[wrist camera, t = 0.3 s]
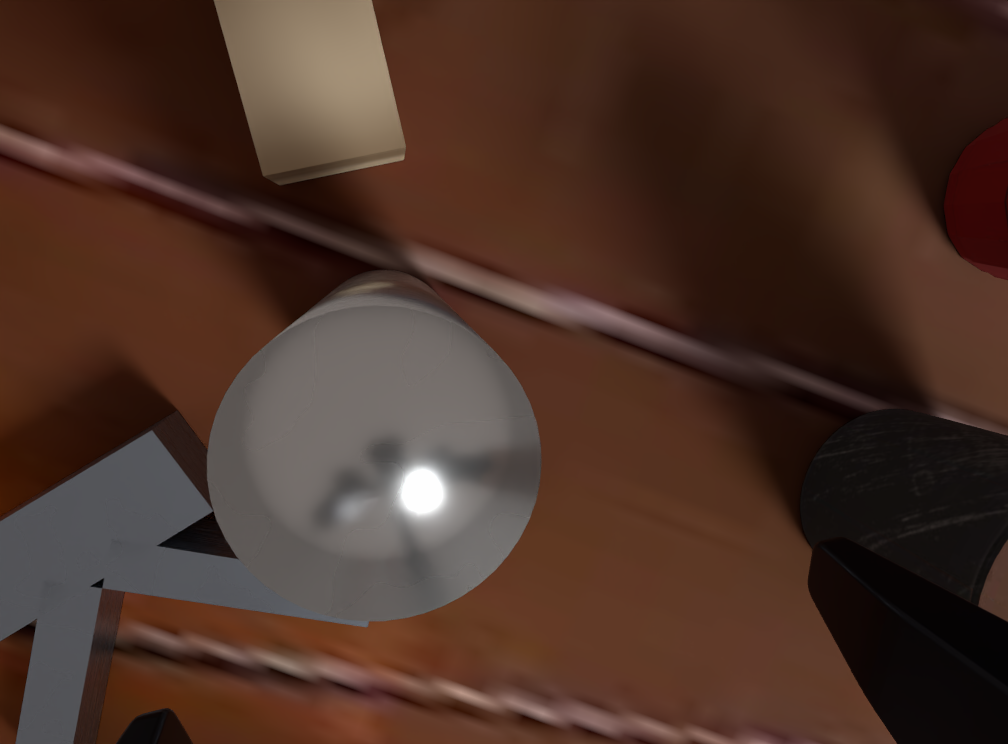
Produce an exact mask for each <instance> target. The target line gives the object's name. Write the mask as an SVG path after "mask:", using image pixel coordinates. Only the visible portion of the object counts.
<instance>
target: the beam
mask: <svg viewBox="0 0 1008 744" xmlns="http://www.w3.org/2000/svg"><path fill="white" fill-rule="evenodd" d="M214 3H215V6H216V10H217V13H218V17H219V21H220V24H221V28H222V31H223V35H224V39H225V42H226V46H227V49H228V53H229V56H230V60H231V64H232V67H233V71H234V74H235V78H236V81H237V85H238V89H239V92H240V96H241V99H242V103H243V106H244V110H245V114H246V117H247V121H248V124H249V128H250V132H251V135H252V139H253V142H254V146H255V149H256V153H257V157H258V160H259V164H260V167H261V171H262V174H263V176H264V177H265V178H267V179H269V180H271V181H273V182H274V183H276V184H278V185H284V184H289V183H294V182H299V181H304V180H309V179H313V178H318V177H323V176H328V175H333V174H338V173H343V172H347V171H352V170H357V169H362V168H367V167H372V166H377V165H381V164H386V163H391V162H396V161H401V160H404V155H405V150H406V145H405V141H404V136H403V132H402V128H401V124H400V119H399V115H398V111H397V107H396V102H395V98H394V94H393V90H392V85H391V81H390V77H389V72H388V68H387V64H386V60H385V55H384V51H383V47H382V43H381V38H380V34H379V30H378V26H377V21H376V17H375V13H374V8H373V4H372V0H214Z"/></svg>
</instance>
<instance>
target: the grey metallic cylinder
mask: <svg viewBox="0 0 1008 744" xmlns="http://www.w3.org/2000/svg"><path fill="white" fill-rule="evenodd" d="M540 473H541V446H540V438H539V433H538V428H537V423H536V420H535V417H534V414H533V410H532V407H531V404H530V402H529V400H528V398H527V396H526V394H525V392H524V390H523V388H522V386H521V384H520V383H519V381H518V380H517V378H516V377H515V375H514V374H513V372H512V371H511V369H510V368H509V367H508V366H507V365H506V364H505V362H504V361H503V360H502V359H501V358H500V357H499V356H498V355H497V353H496V352H495V351H494V350H493V349H492V348H491V347H490V346H489V345H488V344H487V343H486V342H485V341H484V340H483V339H482V338H481V337H480V336H479V335H478V334H477V333H476V332H475V331H474V330H473V329H472V328H471V327H470V326H469V325H468V324H467V323H466V322H465V321H464V320H463V319H462V318H461V317H460V316H459V315H458V314H457V313H456V312H455V311H454V310H453V309H452V308H451V307H450V306H449V305H448V304H447V303H446V302H445V301H444V300H443V299H442V298H441V297H440V296H439V295H438V294H437V293H436V292H435V291H434V290H433V289H431V288H430V287H429V286H428V285H427V284H426V283H424V282H422V281H421V280H419V279H418V278H416V277H414V276H412V275H409V274H406V273H403V272H399V271H394V270H373V271H368V272H364V273H361V274H358V275H356V276H354V277H352V278H350V279H348V280H346V281H345V282H343V283H342V284H340V285H339V286H338V287H337V288H336V289H334V290H333V291H332V292H331V293H329V294H328V295H327V296H326V297H324V298H323V299H322V300H321V301H319V302H318V303H317V304H316V305H315V306H313V307H312V308H311V309H310V310H308V311H307V312H306V313H305V314H303V315H302V316H301V317H300V318H299V319H297V320H296V321H295V322H294V323H292V324H291V325H290V326H289V327H287V328H286V329H285V330H284V331H283V332H281V333H280V334H279V335H278V336H276V337H275V338H274V339H273V340H271V341H270V342H269V343H268V344H267V345H266V346H264V347H263V348H262V349H261V350H260V351H259V352H258V353H257V354H256V355H254V356H253V357H252V358H251V359H250V361H249V362H248V363H247V364H246V365H245V366H244V368H243V369H242V370H241V371H240V372H239V373H238V375H237V376H236V378H235V379H234V381H233V383H232V384H231V386H230V387H229V389H228V390H227V392H226V393H225V396H224V398H223V400H222V402H221V404H220V407H219V409H218V411H217V413H216V416H215V420H214V423H213V427H212V430H211V433H210V439H209V446H208V453H207V481H208V488H209V495H210V500H211V503H212V507H213V510H214V514H215V517H216V520H217V522H218V524H219V526H220V529H221V531H222V533H223V535H224V537H225V539H226V541H227V542H228V544H229V545H230V547H231V548H232V550H233V552H234V553H235V555H236V556H237V557H238V559H239V560H240V561H241V562H242V563H243V564H244V566H245V567H246V568H247V569H248V570H249V571H250V572H251V573H252V574H253V575H254V576H255V577H256V578H257V579H258V580H259V581H261V582H262V583H263V584H264V585H265V586H266V587H268V588H269V589H271V590H272V591H274V592H275V593H277V594H278V595H280V596H281V597H283V598H284V599H286V600H288V601H290V602H292V603H294V604H296V605H298V606H300V607H302V608H305V609H308V610H310V611H313V612H316V613H319V614H322V615H326V616H330V617H335V618H339V619H345V620H355V621H388V620H395V619H402V618H407V617H411V616H415V615H419V614H423V613H426V612H429V611H431V610H434V609H436V608H439V607H442V606H444V605H446V604H448V603H450V602H452V601H454V600H456V599H457V598H459V597H461V596H463V595H464V594H466V593H467V592H469V591H470V590H472V589H473V588H475V587H476V586H477V585H479V584H480V583H481V582H482V581H484V580H485V579H486V578H487V577H488V576H489V575H490V574H491V573H492V572H494V571H495V570H496V569H497V567H498V566H499V565H500V564H501V563H502V562H503V561H504V559H505V558H506V557H507V556H508V555H509V553H510V552H511V550H512V549H513V547H514V546H515V545H516V543H517V542H518V540H519V539H520V537H521V535H522V533H523V531H524V529H525V527H526V525H527V523H528V521H529V518H530V516H531V513H532V510H533V507H534V505H535V502H536V497H537V493H538V488H539V483H540Z"/></svg>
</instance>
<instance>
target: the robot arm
mask: <svg viewBox="0 0 1008 744" xmlns="http://www.w3.org/2000/svg"><path fill="white" fill-rule="evenodd" d="M808 588H809V592H810V595H811V597H812V599H813V601H814V603H815V605H816V607H817V609H818V610H819V612H820V614H821V616H822V618H823V620H824V622H825V623H826V625H827V627H828V629H829V631H830V633H831V634H832V636H833V638H834V640H835V642H836V644H837V645H838V647H839V649H840V651H841V653H842V655H843V657H844V658H845V660H846V662H847V664H848V666H849V668H850V669H851V671H852V673H853V675H854V677H855V679H856V680H857V682H858V684H859V686H860V687H861V689H862V691H863V693H864V694H865V696H866V698H867V699H868V701H869V702H870V704H871V705H872V707H873V708H874V710H875V712H876V713H877V715H878V716H879V717H880V719H881V720H882V722H883V723H884V725H885V726H886V728H887V729H888V731H889V732H890V734H891V735H892V737H893V738H894V740H895V741H896V743H897V744H1008V621H1006V620H1004V619H1002V618H1000V617H998V616H996V615H994V614H992V613H990V612H989V611H987V610H985V609H983V608H981V607H979V606H977V605H975V604H973V603H971V602H969V601H967V600H966V599H964V598H962V597H960V596H958V595H956V594H954V593H952V592H950V591H948V590H946V589H944V588H942V587H941V586H939V585H937V584H935V583H933V582H931V581H929V580H927V579H925V578H923V577H921V576H919V575H917V574H916V573H914V572H912V571H910V570H908V569H906V568H904V567H902V566H900V565H898V564H896V563H894V562H892V561H891V560H889V559H887V558H885V557H883V556H881V555H879V554H877V553H875V552H873V551H871V550H869V549H867V548H866V547H864V546H862V545H860V544H858V543H856V542H854V541H852V540H850V539H848V538H845V537H835V538H831V539H827V540H823V541H819V542H817V543H816V544H815V545H814V547H813V551H812V557H811V563H810V569H809V575H808ZM116 744H193V743H192V741H191V739H190V737H189V736H188V734H187V732H186V731H185V729H184V727H183V726H182V724H181V722H180V721H179V719H178V717H177V716H176V714H175V713H174V711H173V710H171V709H169V708H164V709H160V710H156V711H153V712H149V713H145V714H142V715H139V716H137V717H136V718H135V719H134V720H133V721H132V722H131V723H130V724H129V726H128V727H127V728H126V730H125V731H124V733H123V734H122V735H121V737H120V738H119V740H118V741H117V742H116Z"/></svg>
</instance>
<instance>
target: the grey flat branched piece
mask: <svg viewBox="0 0 1008 744" xmlns="http://www.w3.org/2000/svg"><path fill="white" fill-rule="evenodd" d="M207 453H208V451H207V449H206V448H205V447H204V445H203V444H202V443H201V441H200V440H199V439H198V437H197V436H196V435H195V433H194V432H193V431H192V429H191V428H190V426H189V425H188V424H187V422H186V421H185V420H184V418H183V417H182V416H181V414H180V413H179V412H178V410H177V411H175V412H174V413H172V414H170V415H169V416H167V417H165V418H164V419H162V420H160V421H159V422H157V423H155V424H154V425H152V426H150V427H149V428H147V429H145V430H144V431H142V432H140V433H139V434H137V435H135V436H134V437H132V438H131V439H129V440H127V441H126V442H124V443H122V444H121V445H119V446H117V447H116V448H114V449H112V450H111V451H109V452H107V453H106V454H104V455H102V456H101V457H99V458H97V459H96V460H94V461H92V462H91V463H89V464H87V465H86V466H84V467H82V468H81V469H79V470H77V471H76V472H74V473H72V474H71V475H69V476H67V477H66V478H64V479H62V480H61V481H59V482H57V483H56V484H54V485H52V486H51V487H49V488H47V489H46V490H44V491H42V492H41V493H39V494H37V495H36V496H34V497H32V498H31V499H29V500H27V501H26V502H24V503H22V504H21V505H19V506H17V507H16V508H14V509H12V510H11V511H9V512H7V513H6V514H4V515H2V516H1V517H0V641H1V640H3V639H5V638H6V637H8V636H9V635H11V634H13V633H14V632H16V631H18V630H19V629H21V628H23V627H24V626H26V625H28V624H29V623H31V622H32V621H34V620H36V619H37V623H36V629H35V635H34V641H33V646H32V652H31V658H30V664H29V669H28V675H27V681H26V686H25V692H24V698H23V704H22V709H21V715H20V721H19V727H18V732H17V738H16V744H96V738H97V733H98V728H99V723H100V717H101V712H102V707H103V702H104V697H105V691H106V686H107V681H108V676H109V671H110V665H111V660H112V655H113V650H114V645H115V639H116V634H117V629H118V624H119V619H120V613H121V608H122V603H123V598H124V593H125V592H131V593H138V594H145V595H152V596H158V597H165V598H172V599H179V600H186V601H192V602H199V603H206V604H213V605H220V606H226V607H233V608H240V609H247V610H253V611H260V612H267V613H274V614H281V615H287V616H294V617H301V618H308V619H315V620H321V621H328V622H335V623H342V624H349V625H355V626H362V627H368V623H369V621H355V620H345V619H339V618H335V617H330V616H326V615H322V614H319V613H316V612H313V611H310V610H308V609H305V608H302V607H300V606H298V605H296V604H294V603H292V602H290V601H288V600H286V599H284V598H283V597H281V596H280V595H278V594H277V593H275V592H274V591H272V590H271V589H269V588H268V587H266V586H265V585H264V584H263V583H262V582H261V581H259V580H258V579H257V578H256V577H255V576H254V575H253V574H252V573H251V572H250V571H249V570H248V569H247V568H246V567H245V566H244V564H243V563H242V562H241V561H240V560H239V559H238V557H237V556H236V555H235V553H234V552H233V550H232V548H231V547H230V545H229V544H228V542H227V541H226V539H225V537H224V535H223V533H222V531H221V529H220V526H219V524H218V522H217V521H215V520H210V519H204V518H203V517H205V516H206V515H208V514H209V513H211V512H213V511H214V510H213V507H212V503H211V500H210V495H209V488H208V481H207Z"/></svg>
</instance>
